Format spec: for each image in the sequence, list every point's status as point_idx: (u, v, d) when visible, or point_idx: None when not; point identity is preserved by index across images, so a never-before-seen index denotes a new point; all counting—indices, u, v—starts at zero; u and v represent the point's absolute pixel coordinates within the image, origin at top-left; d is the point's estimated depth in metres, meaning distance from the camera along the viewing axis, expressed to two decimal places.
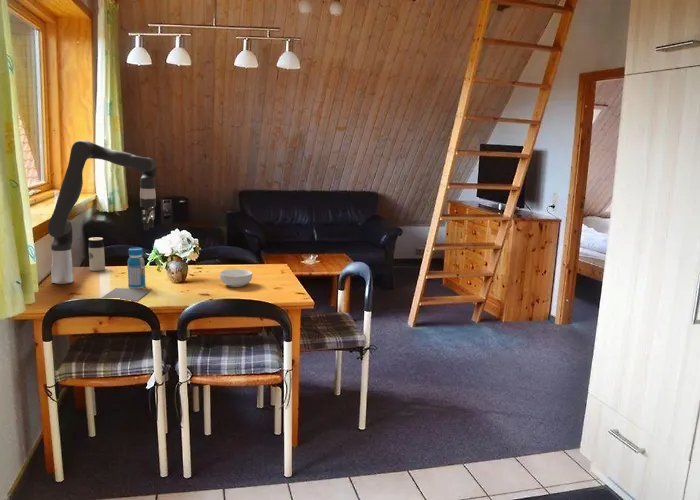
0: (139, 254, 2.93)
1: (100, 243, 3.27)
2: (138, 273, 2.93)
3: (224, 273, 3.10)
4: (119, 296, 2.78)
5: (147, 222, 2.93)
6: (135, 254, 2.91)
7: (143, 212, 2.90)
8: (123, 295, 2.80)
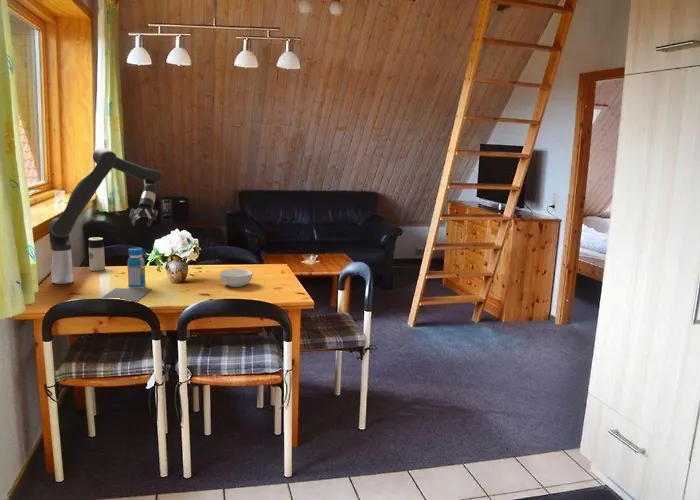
0: (139, 254, 2.93)
1: (100, 243, 3.27)
2: (138, 273, 2.93)
3: (224, 273, 3.10)
4: (119, 296, 2.78)
5: (152, 220, 3.15)
6: (135, 254, 2.91)
7: (156, 211, 3.17)
8: (123, 295, 2.80)
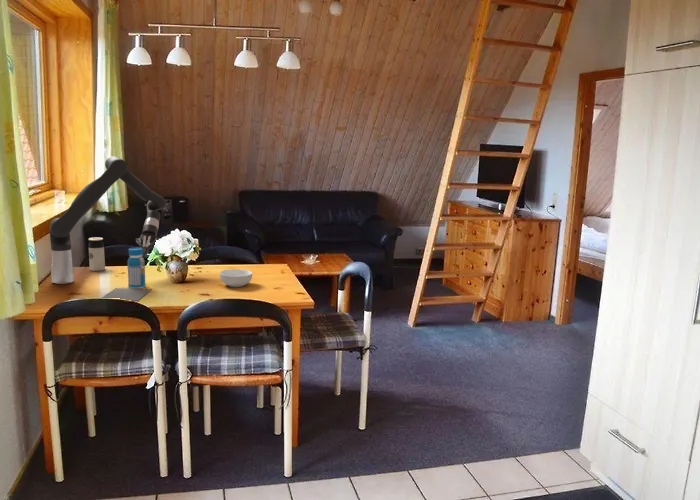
0: (139, 254, 2.93)
1: (100, 243, 3.27)
2: (138, 273, 2.93)
3: (224, 273, 3.10)
4: (119, 296, 2.78)
5: (148, 249, 3.11)
6: (135, 254, 2.91)
7: None
8: (123, 295, 2.80)
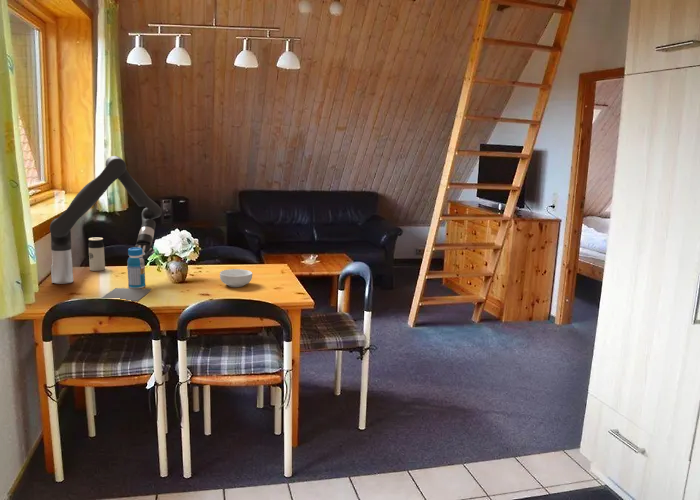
0: (139, 254, 2.92)
1: (100, 243, 3.27)
2: (138, 273, 2.93)
3: (224, 273, 3.10)
4: (119, 296, 2.78)
5: None
6: (135, 254, 2.91)
7: (153, 251, 3.04)
8: (123, 295, 2.80)
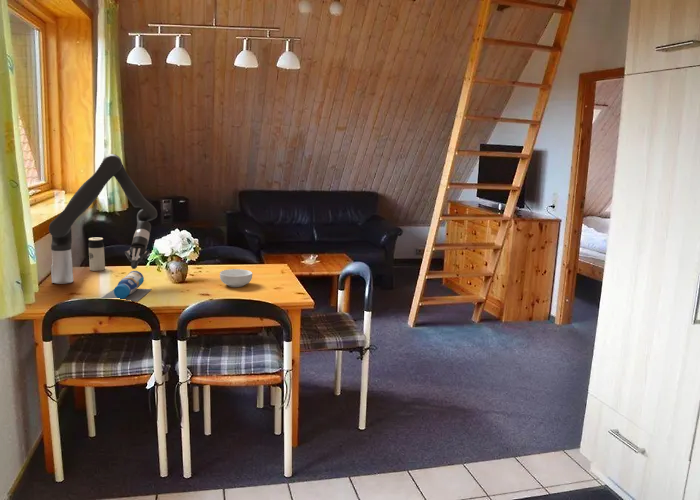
0: (127, 295, 2.76)
1: (100, 243, 3.27)
2: None
3: (224, 273, 3.10)
4: None
5: (137, 262, 2.95)
6: None
7: (148, 254, 2.96)
8: None
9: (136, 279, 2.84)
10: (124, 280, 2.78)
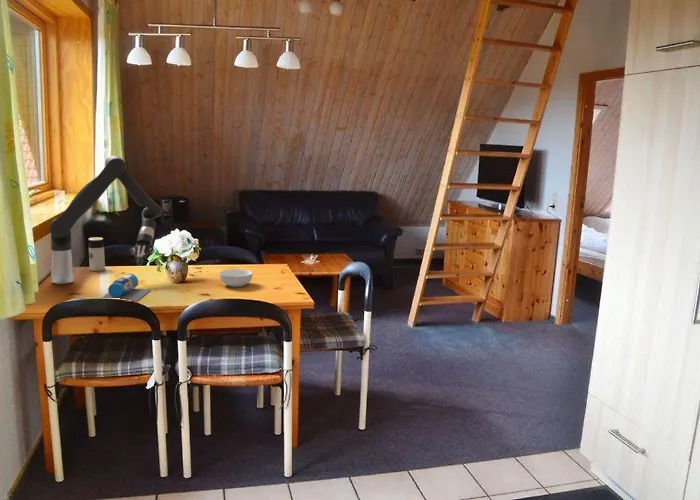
0: (123, 291, 2.76)
1: (100, 243, 3.27)
2: (131, 289, 2.86)
3: (224, 273, 3.10)
4: (119, 296, 2.78)
5: (142, 259, 3.02)
6: (121, 294, 2.76)
7: (152, 251, 3.03)
8: (123, 295, 2.80)
9: (126, 277, 2.85)
10: (114, 282, 2.79)
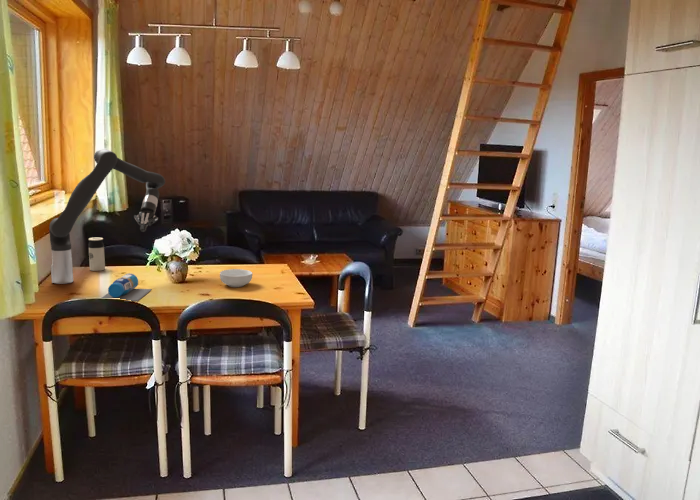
0: (123, 291, 2.76)
1: (100, 243, 3.27)
2: (131, 289, 2.86)
3: (224, 273, 3.10)
4: (119, 296, 2.78)
5: None
6: (121, 294, 2.76)
7: (156, 219, 3.12)
8: (123, 295, 2.80)
9: (126, 277, 2.85)
10: (114, 282, 2.79)
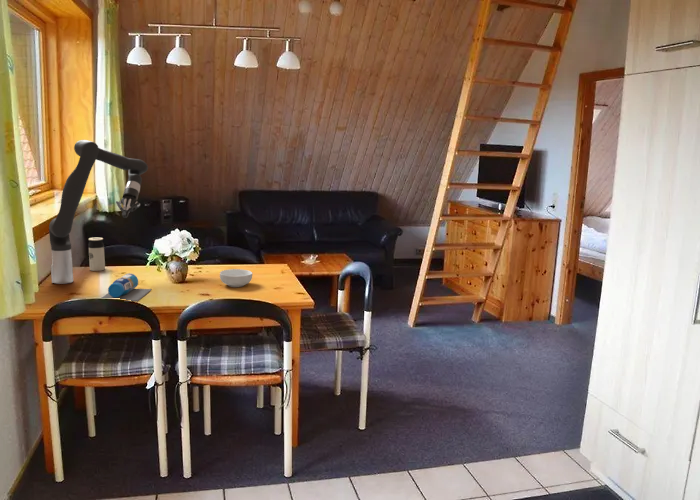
0: (123, 291, 2.76)
1: (100, 243, 3.27)
2: (131, 289, 2.86)
3: (224, 273, 3.10)
4: (119, 296, 2.78)
5: (128, 212, 3.08)
6: (121, 294, 2.76)
7: (138, 205, 3.09)
8: (123, 295, 2.80)
9: (126, 277, 2.85)
10: (114, 282, 2.79)
